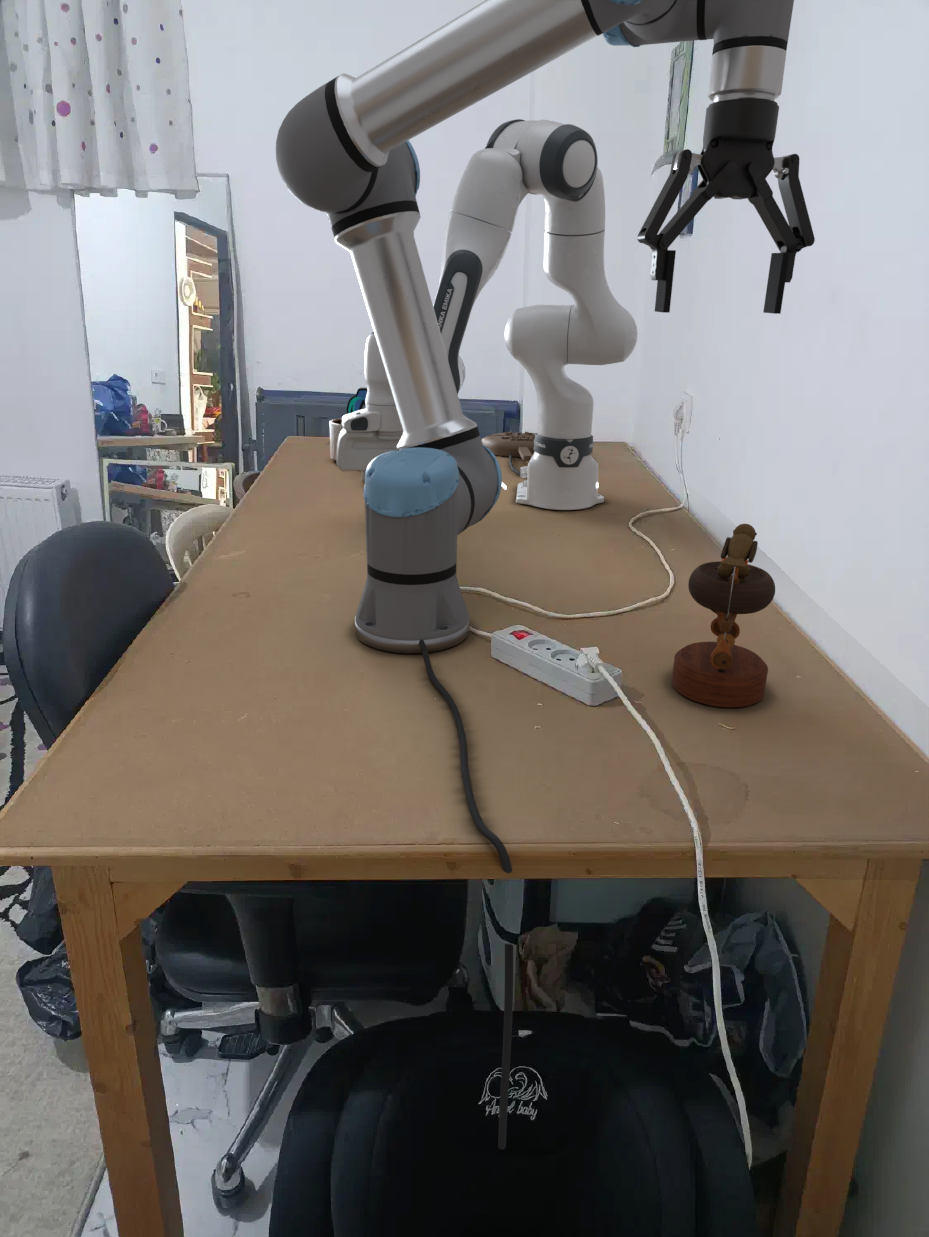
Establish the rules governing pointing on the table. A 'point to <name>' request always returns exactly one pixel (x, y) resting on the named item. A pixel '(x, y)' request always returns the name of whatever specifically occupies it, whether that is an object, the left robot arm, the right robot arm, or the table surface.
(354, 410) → the decorative sign
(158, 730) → the table surface
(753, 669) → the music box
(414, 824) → the table surface
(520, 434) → the ice cream bar
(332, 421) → the planter
